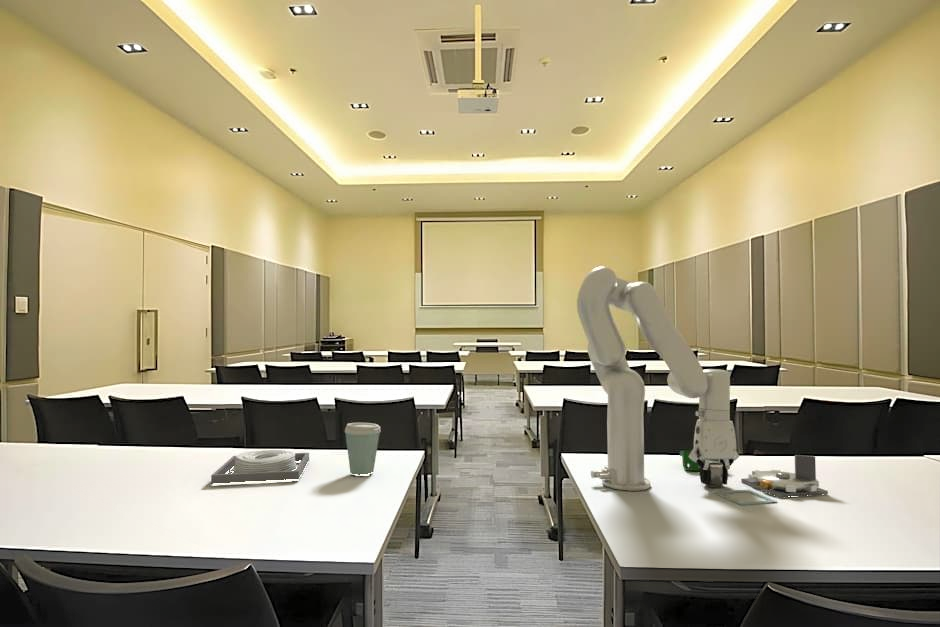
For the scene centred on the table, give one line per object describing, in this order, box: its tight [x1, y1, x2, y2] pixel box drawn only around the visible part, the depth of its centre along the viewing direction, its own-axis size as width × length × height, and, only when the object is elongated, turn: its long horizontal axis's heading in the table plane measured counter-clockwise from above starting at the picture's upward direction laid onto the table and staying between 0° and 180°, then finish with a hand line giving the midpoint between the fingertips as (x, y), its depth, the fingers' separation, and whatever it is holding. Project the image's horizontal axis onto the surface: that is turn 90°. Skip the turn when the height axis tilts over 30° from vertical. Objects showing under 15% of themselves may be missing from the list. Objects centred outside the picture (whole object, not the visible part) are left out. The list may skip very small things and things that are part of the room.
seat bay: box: [714, 489, 778, 506], centre depth 134 cm, size 10×10×1 cm
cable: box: [228, 449, 297, 474], centre depth 160 cm, size 18×18×6 cm
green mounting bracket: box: [679, 450, 719, 472], centre depth 162 cm, size 12×6×9 cm, turn 75°
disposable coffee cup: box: [344, 422, 382, 475], centre depth 158 cm, size 11×11×15 cm
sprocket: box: [747, 454, 820, 492], centre depth 142 cm, size 16×16×8 cm
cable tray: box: [210, 452, 310, 485], centre depth 159 cm, size 23×23×3 cm
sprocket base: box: [741, 477, 829, 498], centre depth 142 cm, size 14×14×1 cm
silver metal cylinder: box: [706, 461, 724, 489], centre depth 144 cm, size 4×4×6 cm
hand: (713, 482), depth 144 cm, fingers closed on silver metal cylinder, 4 cm apart
